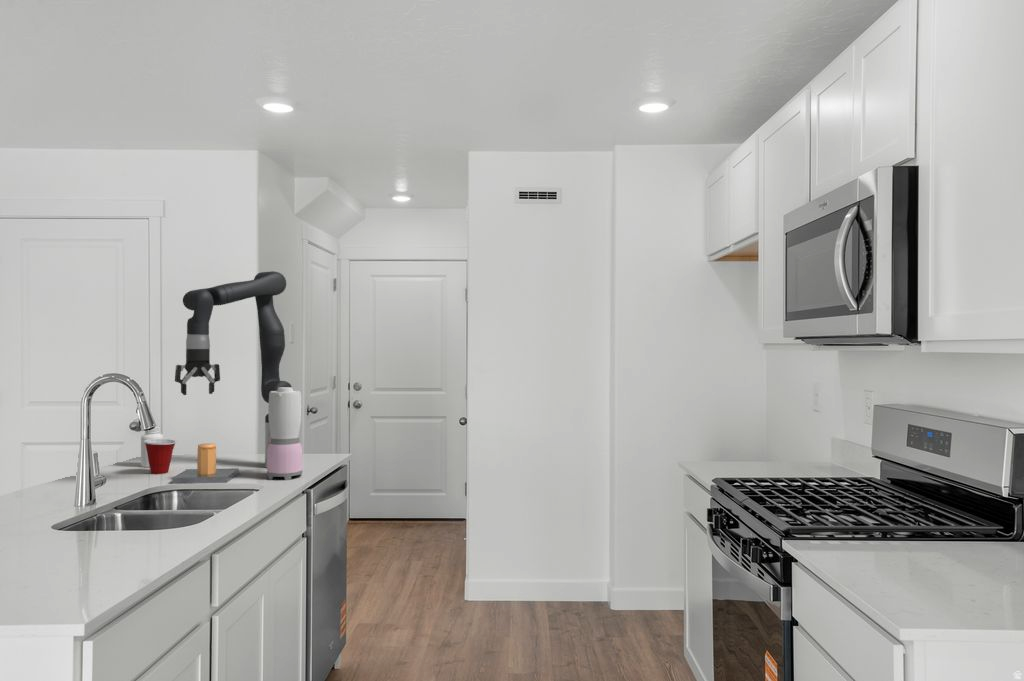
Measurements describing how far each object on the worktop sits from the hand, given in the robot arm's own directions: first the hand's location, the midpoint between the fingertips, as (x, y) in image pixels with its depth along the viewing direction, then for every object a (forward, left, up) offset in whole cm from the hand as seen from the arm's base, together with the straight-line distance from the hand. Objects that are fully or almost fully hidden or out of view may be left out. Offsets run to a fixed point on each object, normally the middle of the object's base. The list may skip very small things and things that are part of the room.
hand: (197, 394), depth 248 cm
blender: (-6, +29, -30) cm, 42 cm away
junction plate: (-4, +2, -30) cm, 30 cm away
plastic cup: (-17, -18, -30) cm, 39 cm away
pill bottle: (-32, -26, -30) cm, 51 cm away
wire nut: (-4, +2, -28) cm, 28 cm away
